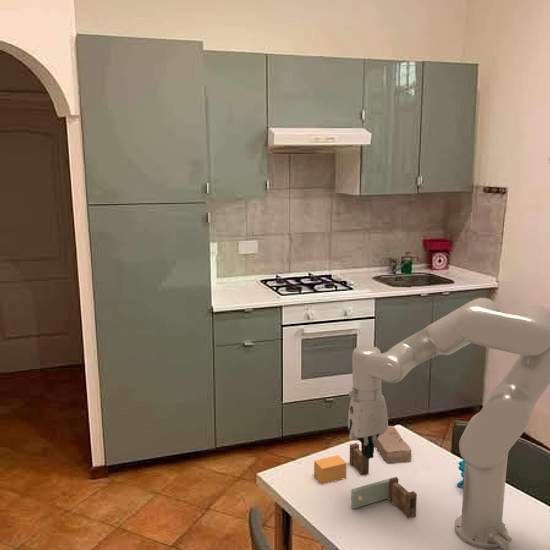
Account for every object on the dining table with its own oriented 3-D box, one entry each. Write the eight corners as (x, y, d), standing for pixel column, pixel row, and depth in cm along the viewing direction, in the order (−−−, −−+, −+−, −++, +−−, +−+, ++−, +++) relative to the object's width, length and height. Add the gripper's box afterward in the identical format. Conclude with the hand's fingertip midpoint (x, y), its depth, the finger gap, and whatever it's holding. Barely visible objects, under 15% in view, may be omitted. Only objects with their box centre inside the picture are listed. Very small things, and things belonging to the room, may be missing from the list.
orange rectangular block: (346, 478, 170) (346, 463, 169) (322, 484, 167) (322, 468, 166) (337, 470, 175) (338, 455, 174) (314, 476, 172) (314, 460, 171)
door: (390, 494, 161) (390, 478, 160) (395, 499, 159) (396, 482, 158) (350, 506, 156) (351, 489, 155) (355, 511, 154) (356, 493, 153)
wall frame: (415, 516, 152) (416, 493, 151) (408, 518, 151) (409, 496, 150) (356, 462, 179) (356, 442, 178) (349, 464, 178) (349, 444, 177)
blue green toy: (483, 497, 157) (458, 465, 160) (465, 507, 160) (442, 476, 163) (490, 483, 167) (467, 453, 170) (474, 493, 169) (451, 463, 172)
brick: (412, 462, 179) (413, 448, 178) (386, 465, 178) (387, 451, 177) (393, 437, 195) (393, 424, 194) (369, 440, 194) (369, 427, 193)
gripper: (349, 402, 148) (350, 469, 151) (398, 392, 154) (398, 456, 157) (335, 392, 155) (336, 456, 158) (383, 383, 161) (383, 444, 164)
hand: (367, 456), depth 158 cm, fingers closed
